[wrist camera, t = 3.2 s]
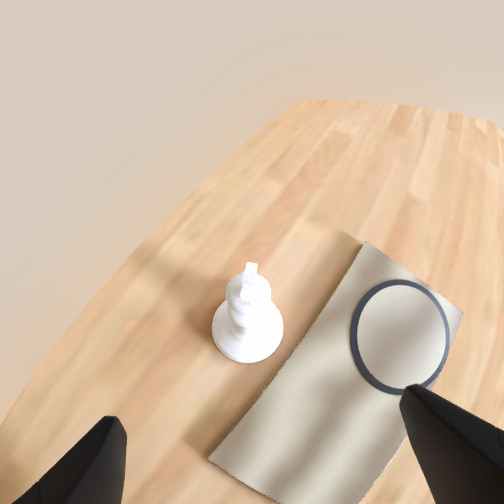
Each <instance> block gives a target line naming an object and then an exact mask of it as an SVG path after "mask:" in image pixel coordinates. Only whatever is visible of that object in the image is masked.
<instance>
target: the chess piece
mask: <svg viewBox="0 0 504 504" xmlns="http://www.w3.org/2000/svg"><path fill="white" fill-rule="evenodd" d="M256 272H257V263H251V262H247V265H246V270H244V272H243V273H239V274H237V275H236V276H234V277H233V278H232V279H231V280H230V281H229V283H228V285H227V287H226V300H225V301H224V302H223V303H222V304H221V305H220V306H219V307H218V309H217V311H216V312H215V315H214V318H213V322H212V335H213V339H214V342H215V344H216V346H217V347H218V349H219V350H220V351H221V352H222V353H223V354H224V355H225V356H227V357H228V358H230V359H232V360H234V361H237V362H241V363H254V362H259V361H261V360H264V359H265V358H267V357H269V356H270V355H271V354H272V353H273V352H274V351H275V350H276V349H277V347H278V346H279V344H280V342H281V339H282V335H283V322H282V317H281V315H280V312H279V311H278V309H277V307H276V306H275V305H274V304H273V303H272V302H271V301H270V298H271V289H270V286H269V284H268V282H267V281H266V279H265V278H263V277H262V276H261V275H259V274H257V273H256Z"/></svg>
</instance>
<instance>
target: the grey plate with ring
mask: <svg viewBox="0 0 504 504" xmlns="http://www.w3.org/2000/svg"><path fill="white" fill-rule="evenodd" d="M462 315H463V312H462V311H461V310H459V309H458V308H457V307H456V306H454V305H453V304H452V303H451V302H449V301H448V300H447V299H445V298H444V297H443V296H442V295H440V294H439V293H438V292H436V291H435V290H434V289H432V288H431V287H430V286H428V285H427V284H426V283H424V282H423V281H422V280H420V279H419V278H418V277H416V276H415V275H414V274H412V273H411V272H409V271H408V270H407V269H405V268H404V267H402V266H401V265H400V264H398V263H397V262H396V261H394V260H393V259H391V258H390V257H388V256H387V255H386V254H384V253H383V252H381V251H380V250H378V249H377V248H375V247H374V246H373V245H371V244H370V243H368V242H367V241H365V242H364V244H363V245H362V247H361V249H360V250H359V252H358V254H357V255H356V257H355V259H354V260H353V262H352V264H351V265H350V267H349V269H348V270H347V272H346V273H345V275H344V277H343V278H342V280H341V281H340V283H339V285H338V286H337V288H336V289H335V291H334V292H333V294H332V295H331V297H330V299H329V300H328V302H327V303H326V305H325V306H324V308H323V309H322V311H321V312H320V314H319V315H318V317H317V318H316V320H315V321H314V322H313V324H312V325H311V327H310V328H309V330H308V331H307V333H306V334H305V335H304V337H303V338H302V340H301V341H300V343H299V344H298V345H297V347H296V348H295V350H294V351H293V352H292V354H291V355H290V356H289V358H288V359H287V360H286V362H285V363H284V365H283V366H282V367H281V369H280V370H279V371H278V373H277V374H276V375H275V377H274V378H273V379H272V380H271V382H270V383H269V384H268V386H267V387H266V388H265V390H264V391H263V392H262V393H261V395H260V396H259V397H258V398H257V400H256V401H255V402H254V403H253V405H252V406H251V407H250V408H249V410H248V411H247V412H246V413H245V415H244V416H243V417H242V418H241V419H240V421H239V422H238V423H237V424H236V425H235V427H234V428H233V429H232V430H231V431H230V432H229V434H228V435H227V436H226V437H225V438H224V439H223V441H222V442H221V443H220V444H219V445H218V446H217V447H216V448H215V450H214V451H213V452H212V453H211V454H210V455H209V456H208V458H207V459H208V460H210V461H211V462H213V463H214V464H215V465H217V466H218V467H220V468H221V469H223V470H224V471H226V472H227V473H229V474H230V475H232V476H233V477H235V478H237V479H238V480H240V481H241V482H243V483H245V484H246V485H248V486H249V487H251V488H253V489H255V490H256V491H258V492H260V493H261V494H263V495H265V496H267V497H269V498H270V499H272V500H274V501H276V502H278V503H280V504H359V502H360V501H361V500H362V499H363V498H364V496H365V495H366V494H367V493H368V491H369V490H370V489H371V487H372V486H373V485H374V483H375V482H376V481H377V479H378V478H379V477H380V475H381V474H382V473H383V471H384V470H385V468H386V467H387V465H388V464H389V463H390V461H391V460H392V458H393V457H394V455H395V454H396V452H397V451H398V449H399V447H400V446H401V444H402V443H403V441H404V439H405V438H406V436H407V435H408V434H407V431H406V428H405V424H404V421H403V418H402V415H401V412H400V409H399V402H400V399H401V397H402V394H403V391H404V389H405V387H406V386H408V385H412V384H415V383H417V384H419V385H421V386H423V387H425V388H427V389H428V390H430V391H432V389H433V386H434V384H435V382H436V380H437V378H438V376H439V374H440V372H441V370H442V368H443V366H444V364H445V362H446V359H447V356H448V353H449V350H450V348H451V345H452V343H453V340H454V338H455V335H456V332H457V329H458V327H459V324H460V321H461V318H462Z"/></svg>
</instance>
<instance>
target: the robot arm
mask: <svg viewBox="0 0 504 504" xmlns="http://www.w3.org/2000/svg"><path fill="white" fill-rule="evenodd" d="M399 409H400V412H401V415H402V418H403V421H404V424H405V428H406V431H407V434H408V437H409V440H410V443H411V446H412V448H413V451H414V453H415V455H416V457H417V460H418V462H419V464H420V467H421V469H422V471H423V474H424V476H425V478H426V481H427V483H428V486H429V488H430V491H431V493H432V495H433V498H434V500H435V503H436V504H504V431H503V430H501V429H499V428H496V427H495V426H494V425H492V424H490V423H488V422H486V421H484V420H482V419H481V418H479V417H477V416H475V415H473V414H471V413H470V412H468V411H466V410H464V409H462V408H460V407H459V406H457V405H455V404H453V403H451V402H450V401H448V400H446V399H444V398H442V397H441V396H439V395H437V394H435V393H434V392H432V391H430V390H428V389H427V388H425V387H423V386H421V385H419V384H417V383H415V384H412V385H408V386H406V387H405V389H404V391H403V394H402V397H401V399H400V402H399ZM126 446H127V434H126V431H125V429H124V427H123V426H122V424H121V422H120V420H119V419H118V418H117V417H116V416H104V417H103V418H102V419H101V420H100V421H99V422H98V423H97V424H96V425H95V426H94V427H93V428H92V429H91V430H90V431H89V432H88V433H87V434H85V435H84V436H83V437H82V438H81V439H80V440H79V441H78V442H77V443H76V444H75V445H74V446H73V447H72V448H71V449H70V450H69V451H68V452H67V453H66V454H65V455H64V456H63V457H62V458H61V459H60V460H59V461H58V462H57V463H56V464H55V465H54V466H53V467H52V468H51V469H50V470H49V471H48V472H47V473H46V474H44V475H43V476H42V477H41V478H40V479H39V482H38V481H37V482H36V483H35V484H34V485H33V486H32V487H31V488H30V489H29V490H28V491H26V492H25V493H24V494H23V495H22V496H21V497H19V498H18V499H17V500H16V501H14V502H13V503H12V504H121V500H122V493H123V487H124V480H125V464H126Z"/></svg>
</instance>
